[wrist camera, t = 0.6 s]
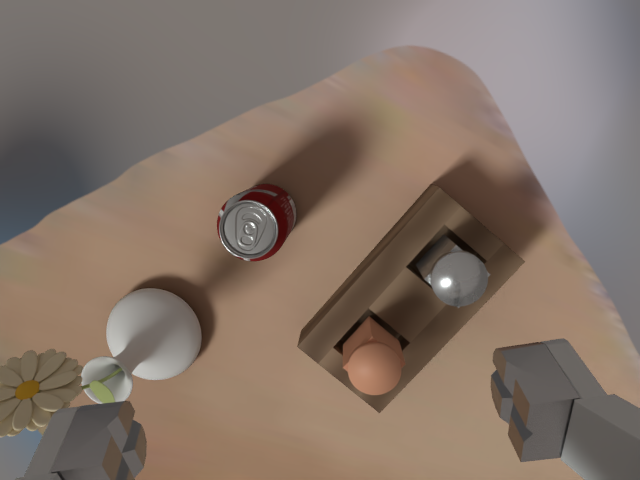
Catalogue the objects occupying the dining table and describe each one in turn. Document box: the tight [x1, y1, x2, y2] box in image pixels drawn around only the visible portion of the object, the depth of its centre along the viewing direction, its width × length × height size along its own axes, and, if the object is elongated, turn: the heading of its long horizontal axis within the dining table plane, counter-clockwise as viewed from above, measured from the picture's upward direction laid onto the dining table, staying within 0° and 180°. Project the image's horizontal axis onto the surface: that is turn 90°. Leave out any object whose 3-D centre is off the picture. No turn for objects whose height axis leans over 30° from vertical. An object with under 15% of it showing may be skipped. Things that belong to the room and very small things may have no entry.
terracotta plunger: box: [343, 316, 405, 395], centre depth 52 cm, size 5×5×7 cm
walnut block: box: [297, 184, 525, 413], centre depth 56 cm, size 12×23×5 cm, turn 140°
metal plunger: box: [416, 234, 491, 308], centre depth 50 cm, size 5×5×7 cm
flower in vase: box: [0, 288, 202, 437], centre depth 49 cm, size 13×11×25 cm
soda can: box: [217, 184, 297, 261], centre depth 52 cm, size 7×7×12 cm
